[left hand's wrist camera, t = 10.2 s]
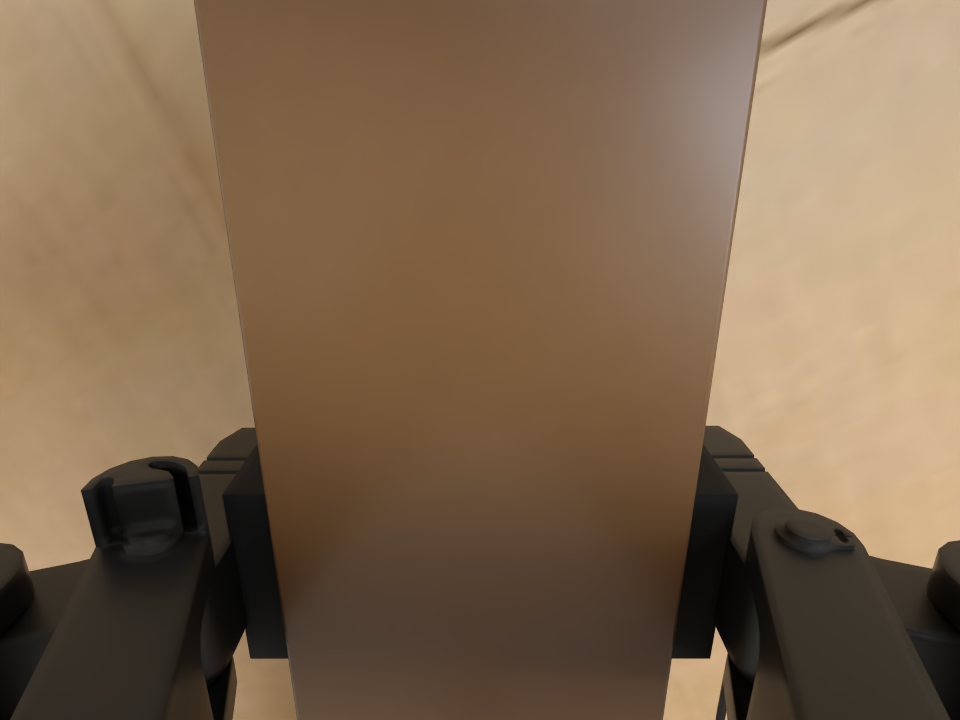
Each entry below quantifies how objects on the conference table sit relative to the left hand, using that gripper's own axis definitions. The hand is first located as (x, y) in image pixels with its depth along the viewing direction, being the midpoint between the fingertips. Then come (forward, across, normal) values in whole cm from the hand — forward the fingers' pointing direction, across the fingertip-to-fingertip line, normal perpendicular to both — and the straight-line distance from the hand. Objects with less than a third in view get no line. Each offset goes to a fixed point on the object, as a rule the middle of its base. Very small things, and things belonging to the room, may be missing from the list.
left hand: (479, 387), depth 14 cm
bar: (+1, 0, -20) cm, 20 cm away
